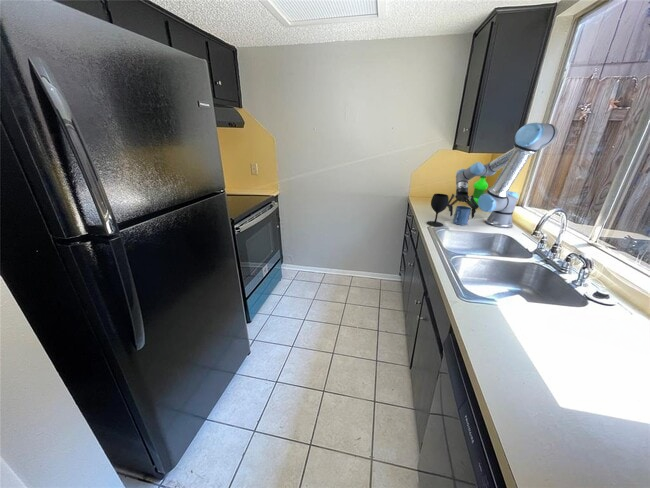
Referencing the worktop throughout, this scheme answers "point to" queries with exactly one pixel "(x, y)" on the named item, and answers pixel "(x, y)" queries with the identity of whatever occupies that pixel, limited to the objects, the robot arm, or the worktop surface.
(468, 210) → the mug
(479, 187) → the plastic bottle
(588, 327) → the worktop surface
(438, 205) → the wine glass
